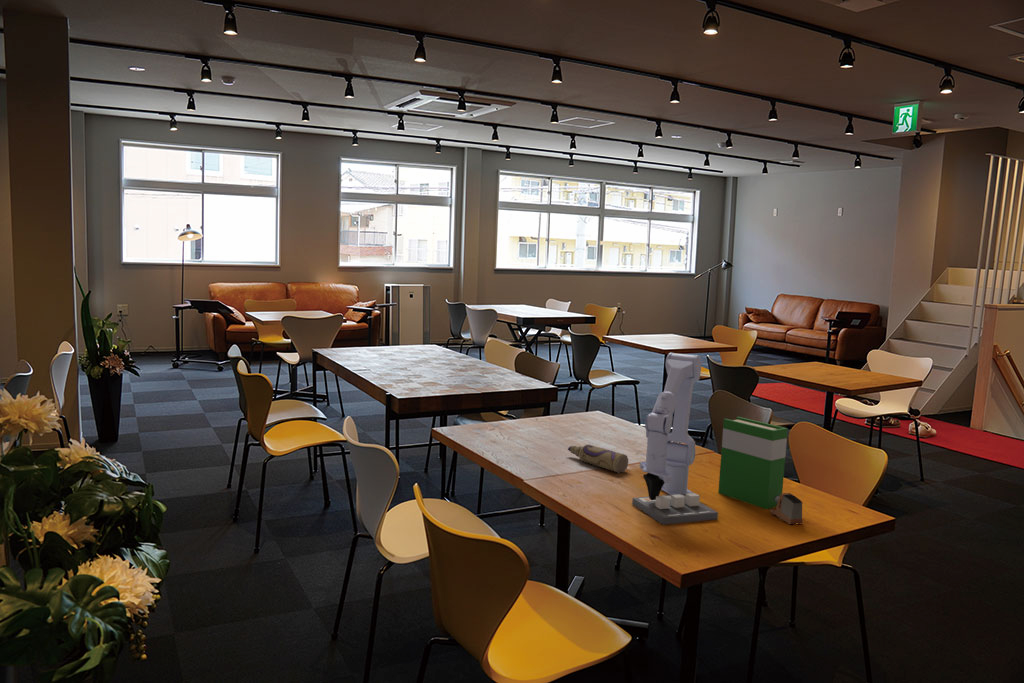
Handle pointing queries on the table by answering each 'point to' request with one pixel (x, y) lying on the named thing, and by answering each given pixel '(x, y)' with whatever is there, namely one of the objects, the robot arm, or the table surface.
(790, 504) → the electronic device
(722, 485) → the hardback book
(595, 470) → the table surface
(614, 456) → the decorative bottle
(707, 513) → the switch board
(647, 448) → the robot arm
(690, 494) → the tab
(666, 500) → the tab
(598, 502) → the table surface
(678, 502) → the tab middle
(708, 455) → the table surface
